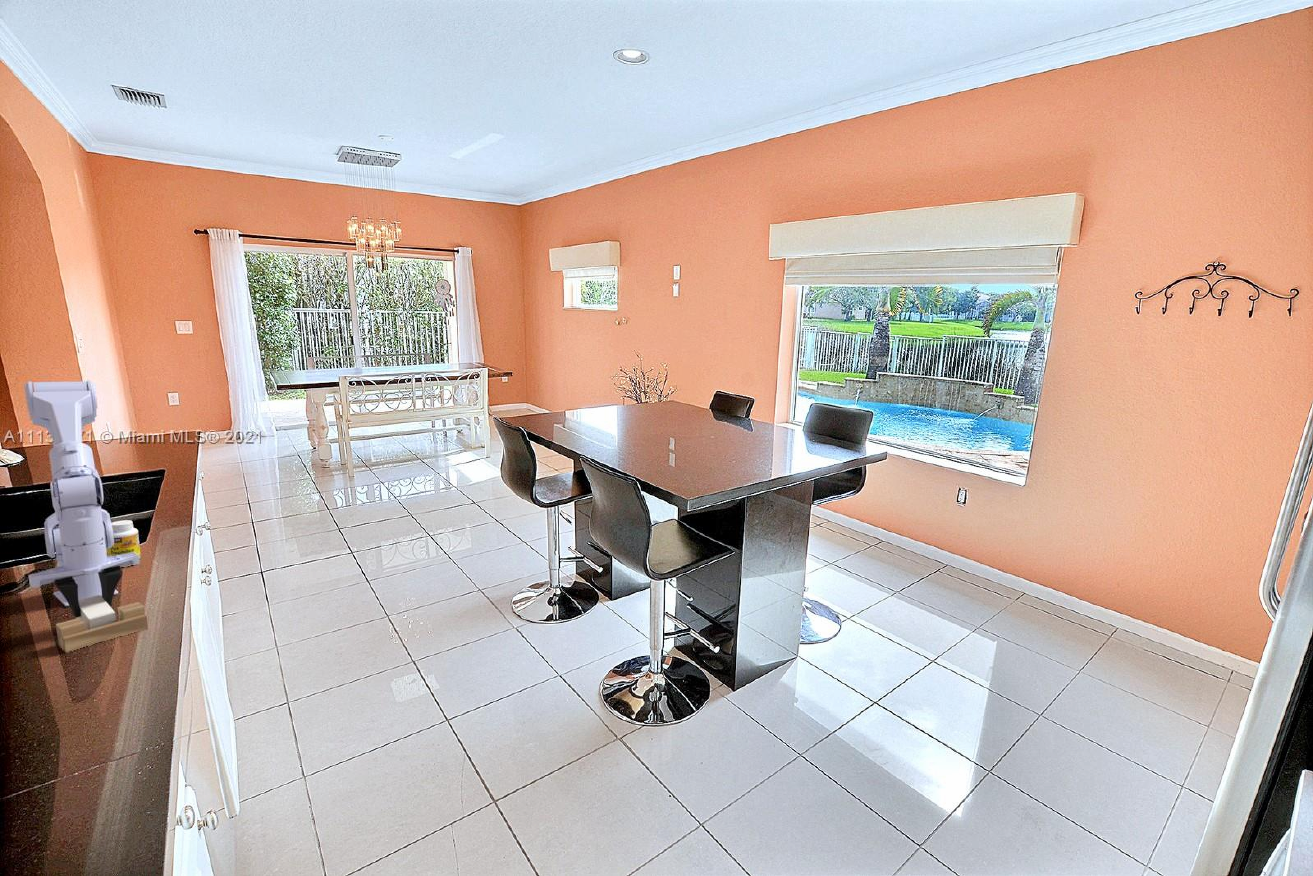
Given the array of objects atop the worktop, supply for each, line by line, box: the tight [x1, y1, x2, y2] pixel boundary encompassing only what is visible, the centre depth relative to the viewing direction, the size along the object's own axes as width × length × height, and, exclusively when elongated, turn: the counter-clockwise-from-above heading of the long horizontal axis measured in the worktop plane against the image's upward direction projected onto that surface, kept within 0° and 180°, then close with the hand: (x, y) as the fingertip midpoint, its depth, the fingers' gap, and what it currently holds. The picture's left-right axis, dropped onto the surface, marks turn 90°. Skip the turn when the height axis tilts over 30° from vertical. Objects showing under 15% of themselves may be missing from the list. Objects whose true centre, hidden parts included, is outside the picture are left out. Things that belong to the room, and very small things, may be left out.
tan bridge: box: [55, 602, 149, 654], centre depth 107 cm, size 4×11×4 cm, turn 146°
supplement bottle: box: [107, 519, 142, 568], centre depth 138 cm, size 6×6×10 cm
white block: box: [75, 595, 117, 631], centre depth 109 cm, size 9×4×4 cm, turn 55°
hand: (92, 611), depth 110 cm, fingers closed on white block, 3 cm apart
